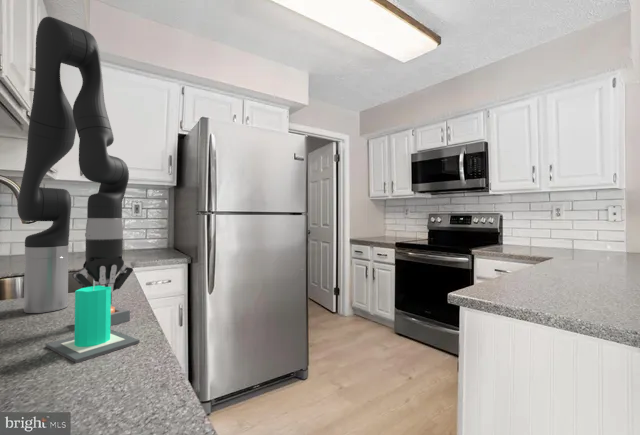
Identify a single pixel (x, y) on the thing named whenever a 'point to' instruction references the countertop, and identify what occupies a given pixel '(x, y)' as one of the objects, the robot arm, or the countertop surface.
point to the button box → (120, 316)
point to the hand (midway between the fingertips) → (103, 308)
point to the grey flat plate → (91, 347)
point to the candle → (92, 316)
